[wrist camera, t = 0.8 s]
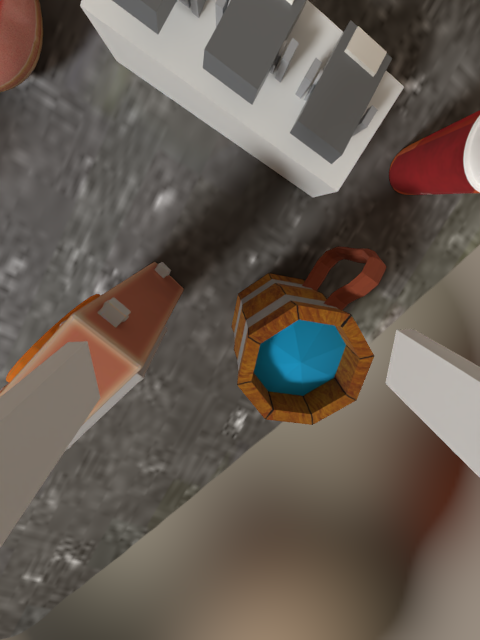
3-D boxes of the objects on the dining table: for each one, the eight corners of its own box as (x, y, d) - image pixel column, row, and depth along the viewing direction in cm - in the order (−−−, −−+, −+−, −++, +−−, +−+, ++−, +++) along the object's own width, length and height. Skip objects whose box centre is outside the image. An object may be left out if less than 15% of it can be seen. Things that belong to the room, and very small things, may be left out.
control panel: (87, 324, 39) (156, 250, 36) (126, 355, 41) (195, 287, 38) (-57, 438, 19) (75, 290, 16) (35, 487, 21) (166, 364, 18)
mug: (285, 372, 44) (315, 444, 30) (213, 331, 40) (208, 390, 26) (367, 269, 39) (450, 298, 25) (292, 212, 35) (339, 208, 21)
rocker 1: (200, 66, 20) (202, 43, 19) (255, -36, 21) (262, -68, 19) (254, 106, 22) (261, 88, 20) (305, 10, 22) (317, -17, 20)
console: (116, 60, 29) (56, -30, 18) (157, -56, 26) (114, -240, 16) (312, 197, 35) (352, 188, 24) (363, 114, 32) (432, 64, 21)
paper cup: (411, 215, 36) (518, 213, 23) (368, 182, 35) (457, 160, 21) (453, 157, 34) (597, 119, 21) (409, 119, 32) (536, 52, 19)
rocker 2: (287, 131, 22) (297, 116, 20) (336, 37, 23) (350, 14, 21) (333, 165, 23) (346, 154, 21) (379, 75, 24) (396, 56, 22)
